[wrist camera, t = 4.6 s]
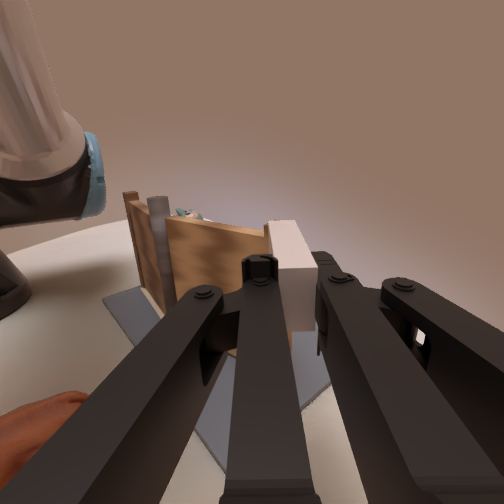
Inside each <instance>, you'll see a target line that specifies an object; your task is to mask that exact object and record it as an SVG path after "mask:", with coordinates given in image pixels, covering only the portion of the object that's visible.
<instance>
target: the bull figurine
mask: <svg viewBox="0 0 504 504" xmlns="http://www.w3.org/2000/svg"><path fill="white" fill-rule="evenodd" d="M89 396H90V395H88V394H86V393H82V392H78V391H68V392H64V393H61V394H58V395H55V396H53V397H50V398H48V399H45V400H42V401H38V402H35V403H30V404H27V405H24V406H21V407H19V408H17V409H15V410H13V411H11V412H9V413H7V414H5V415H3V416H1V417H0V491H1V490H2V489H3V488H4V487H5V486H6V485H7V483H8V482H9V481H10V480H11V479H12V478H13V477H14V476H15V475H16V474H17V473H18V472H19V471H20V470H21V468H22V467H23V466H24V465H25V464H26V463H27V462H28V461H29V460H30V459H31V458H32V457H33V456H34V455H35V453H36V452H37V451H38V450H39V449H40V448H41V447H42V446H43V445H44V444H45V443H46V442H47V441H48V440H49V438H50V437H51V436H52V435H53V434H54V433H55V432H56V431H57V430H58V429H59V428H60V427H61V426H62V425H63V424H64V422H65V421H66V420H67V419H68V418H69V417H70V416H71V415H72V414H73V413H74V412H75V411H76V410H77V409H78V407H79V406H80V405H81V404H82V403H83V402H84V401H85V400H86V399H87V398H88V397H89Z"/></svg>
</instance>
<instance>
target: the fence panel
mask: <svg viewBox="0 0 504 504" xmlns="http://www.w3.org/2000/svg"><path fill="white" fill-rule="evenodd" d="M274 221H280V220H274ZM165 223H166V229H167V236H168V243H169V249H170V256H171V262H172V269H173V275H174V282H175V288H176V295H177V302H178V300H179V299H180V298H181V297H182V296H183V295H184V294H185V293H186V292H187V291H188V290H190V289H191V288H194V287H196V286H199V285H204V284H206V285H214V286H218V287H220V288H221V289H222V291H223V294H227V293H231V292H234V291H237V290H239V289H240V288H242V283H243V282H242V265H241V261H242V260H243V259H244V258H246V257H248V256H250V255H255V254H269V233H268V223H267V224H265V225H264V231H260V230H255V229H249V228H243V227H238V226H232V225H227V224H221V223H215V222H210V221H204V220H199V219H193V218H187V217H182V216H176V215H173V216H170V217H166V218H165ZM287 334H288V340H289V346H290V352H291V353H292V332H287ZM236 352H237V348H236V349H232V350H229V351H228V353H230V354H232V355H234V356H236Z"/></svg>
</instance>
